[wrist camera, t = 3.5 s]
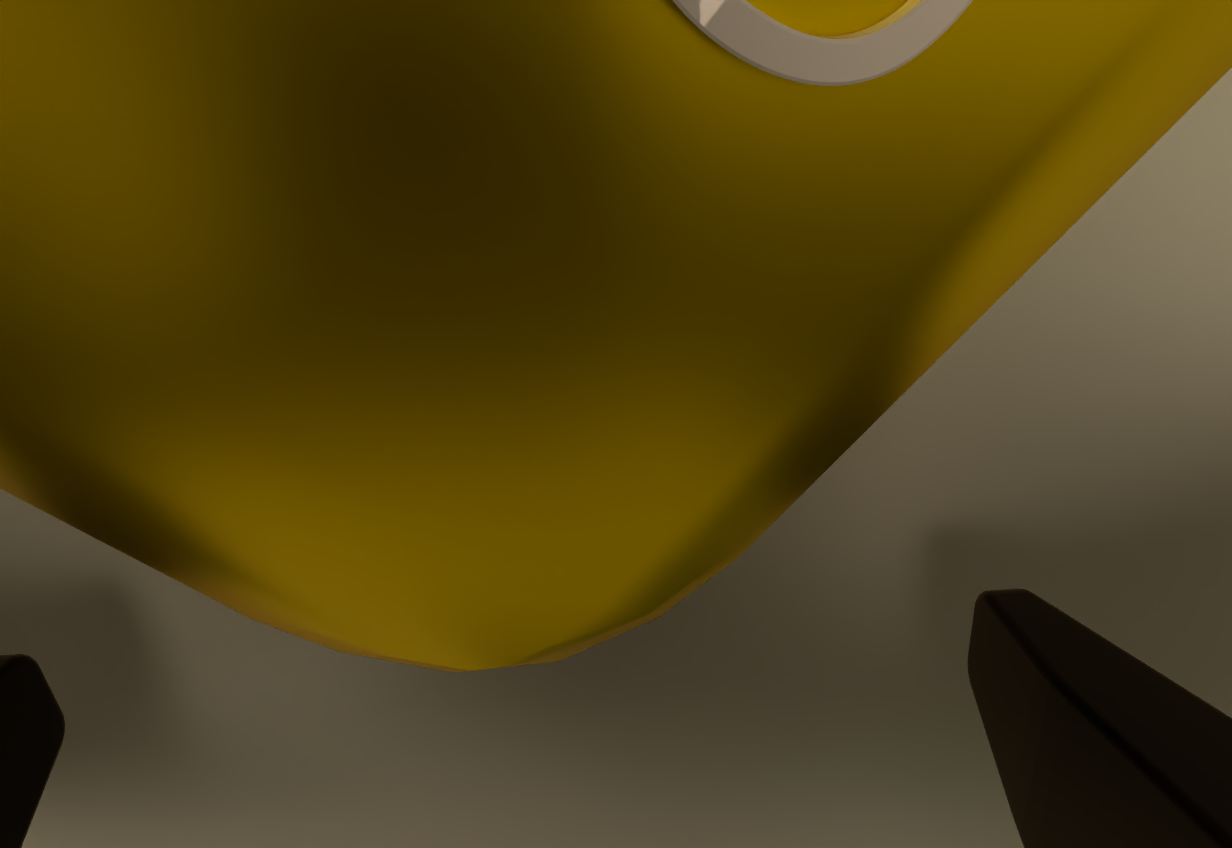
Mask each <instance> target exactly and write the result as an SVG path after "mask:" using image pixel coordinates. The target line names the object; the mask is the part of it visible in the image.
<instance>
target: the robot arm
mask: <svg viewBox="0 0 1232 848" xmlns="http://www.w3.org/2000/svg"><path fill="white" fill-rule="evenodd" d="M968 674H969V679H970V683H971V687H972V690H973V693H974V696H975V699H976V703H977V706H978V709H979V712H980V715H981V718H982V721H983V724H984V728H985V731H986V734H987V737H988V740H989V743H990V746H991V749H992V753H993V756H994V759H995V762H996V765H997V768H998V771H999V774H1000V778H1001V781H1002V784H1003V787H1004V790H1005V793H1006V796H1007V799H1008V803H1009V806H1010V809H1011V812H1012V815H1013V818H1014V821H1015V823H1016V826H1017V829H1018V832H1019V835H1020V838H1021V840H1022V843H1023V845H1024V848H1232V718H1231V717H1229V716H1227V715H1226V714H1224V713H1223V712H1221V711H1219V710H1218V709H1216V708H1215V707H1213V706H1211V705H1210V704H1208V703H1207V702H1205V701H1203V700H1202V699H1200V698H1199V697H1197V696H1196V695H1194V694H1192V693H1191V692H1189V691H1188V690H1186V689H1184V688H1183V687H1181V686H1180V685H1178V684H1176V683H1175V682H1173V681H1172V680H1170V679H1169V678H1167V677H1165V676H1164V675H1162V674H1161V673H1159V672H1157V671H1156V670H1154V669H1153V668H1151V667H1149V666H1148V665H1146V664H1145V663H1143V662H1141V661H1140V660H1138V659H1137V658H1135V657H1134V656H1132V655H1130V654H1129V653H1127V652H1126V651H1124V650H1122V649H1121V648H1119V647H1118V646H1116V645H1114V644H1113V643H1111V642H1110V641H1108V640H1106V639H1105V638H1103V637H1102V636H1100V635H1099V634H1097V633H1095V632H1094V631H1092V630H1091V629H1089V628H1087V627H1086V626H1084V625H1083V624H1081V623H1079V622H1078V621H1076V620H1075V619H1073V618H1072V617H1070V616H1068V615H1067V614H1065V613H1064V612H1062V611H1060V610H1059V609H1057V608H1056V607H1054V606H1052V605H1051V604H1049V603H1048V602H1046V601H1044V600H1043V599H1041V598H1040V597H1038V596H1037V595H1035V594H1033V593H1031V592H1030V591H1028V590H1025V589H1005V590H990V591H984V592H983V593H981V594H980V595H979V596H978V598H977V600H976V603H975V608H974V615H973V622H972V630H971V637H970V645H969V652H968ZM64 732H65V722H64V716H63V713H62V711H61V709H60V707H59V705H58V703H57V701H56V699H55V697H54V695H53V693H52V691H51V689H50V687H49V685H48V683H47V681H46V679H45V677H44V675H43V673H42V671H41V669H40V667H39V665H38V664H37V662H36V661H35V660H34V659H32V658H31V657H30V656H27V655H23V654H15V655H0V848H21V847H22V844H23V841H24V839H25V836H26V834H27V831H28V829H29V826H30V824H31V821H32V819H33V816H34V813H35V811H36V808H37V806H38V803H39V801H40V798H41V796H42V793H43V790H44V788H45V785H46V783H47V780H48V778H49V775H50V773H51V770H52V768H53V765H54V762H55V760H56V757H57V755H58V752H59V750H60V747H61V745H62V741H63V738H64Z"/></svg>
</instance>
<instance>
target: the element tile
mask: <svg viewBox="0 0 1232 848" xmlns="http://www.w3.org/2000/svg"><path fill="white" fill-rule="evenodd" d="M1231 68H1232V0H0V489H2V490H4V491H6V492H7V493H9V494H11V495H13V496H15V497H17V498H19V499H21V500H23V501H25V502H27V503H29V504H31V505H33V506H34V507H36V508H38V509H40V510H42V511H44V512H46V513H48V514H50V515H52V516H54V517H56V518H58V519H59V520H61V521H63V522H65V523H67V524H69V525H71V526H73V527H75V528H77V529H79V530H81V531H83V532H85V533H86V534H88V535H90V536H92V537H94V538H96V539H98V540H100V541H102V542H104V543H106V544H108V545H110V546H111V547H113V548H115V549H117V550H119V551H121V552H123V553H125V554H127V555H129V556H131V557H133V558H135V559H137V560H138V561H140V562H142V563H144V564H146V565H148V566H150V567H152V568H154V569H156V570H158V571H160V572H162V573H164V574H165V575H167V576H169V577H171V578H173V579H175V580H177V581H179V582H181V583H183V584H185V585H187V586H189V587H190V588H192V589H194V590H196V591H198V592H200V593H202V594H204V595H206V596H208V597H210V598H212V599H214V600H216V601H217V602H219V603H221V604H223V605H225V606H227V607H229V608H231V609H233V610H235V611H237V612H239V613H241V614H242V615H244V616H246V617H248V618H250V619H253V620H256V621H258V622H261V623H264V624H266V625H269V626H272V627H274V628H277V629H280V630H283V631H285V632H288V633H291V634H293V635H296V636H299V637H301V638H304V639H307V640H309V641H312V642H315V643H317V644H320V645H323V646H325V647H328V648H331V649H333V650H336V651H339V652H344V653H349V654H355V655H360V656H366V657H371V658H377V659H382V660H388V661H393V662H399V663H404V664H409V665H415V666H420V667H426V668H431V669H437V670H442V671H448V672H453V673H455V672H464V671H474V670H483V669H492V668H502V667H511V666H521V665H530V664H539V663H549V662H558V661H560V660H563V659H565V658H567V657H569V656H572V655H574V654H576V653H579V652H581V651H583V650H585V649H588V648H590V647H592V646H594V645H597V644H599V643H601V642H603V641H606V640H608V639H610V638H612V637H615V636H617V635H619V634H621V633H624V632H626V631H628V630H631V629H633V628H635V627H637V626H640V625H642V624H644V623H646V622H649V621H651V620H653V619H655V618H658V617H660V616H661V615H662V614H664V613H665V612H666V611H668V610H669V609H670V608H672V607H673V606H674V605H676V604H677V603H678V602H680V601H681V600H682V599H684V598H685V597H686V596H688V595H689V594H690V593H692V592H693V591H694V590H696V589H697V588H698V587H700V586H701V585H702V584H703V583H705V582H706V581H707V580H709V579H710V578H711V577H713V576H714V575H715V574H717V573H718V572H719V571H721V570H722V569H723V568H725V567H726V566H727V565H729V564H730V563H731V562H733V561H734V560H735V559H737V558H738V557H739V556H740V555H741V554H742V553H743V552H744V551H745V550H746V549H747V548H748V547H749V546H750V545H751V544H752V543H753V542H754V541H755V540H756V539H757V538H758V537H759V536H760V535H761V534H762V533H763V532H764V531H765V530H767V529H768V528H769V527H770V526H771V525H772V524H773V523H774V522H775V521H776V520H777V519H778V518H779V517H780V516H781V515H782V514H783V513H784V512H785V511H786V510H787V509H788V508H789V507H790V506H791V505H792V504H793V503H794V502H795V501H796V500H797V499H798V498H799V497H800V496H801V495H802V494H803V493H804V492H805V491H806V490H807V489H808V488H809V487H810V486H811V485H812V484H813V483H814V482H815V481H816V480H817V479H818V478H819V477H820V476H821V475H822V474H823V473H824V472H825V471H826V470H827V469H828V468H829V467H830V466H831V465H832V464H833V463H834V462H835V461H836V460H837V459H838V458H839V457H840V456H841V455H842V454H843V453H844V452H845V451H846V450H847V449H848V448H849V447H850V446H851V445H852V444H853V443H854V442H855V441H856V440H857V439H858V438H859V437H860V436H861V435H862V434H863V433H864V432H865V431H866V430H867V429H868V428H869V427H870V426H871V425H872V424H873V423H874V422H875V421H876V420H877V419H878V418H879V417H880V416H881V415H882V414H883V413H884V412H885V411H886V410H887V409H888V408H889V407H890V406H891V405H892V404H893V403H894V402H895V401H896V400H897V399H898V398H899V397H900V396H901V395H902V394H903V393H904V392H905V391H906V390H907V389H908V388H909V387H910V386H911V385H912V384H913V383H914V382H915V381H916V380H917V379H918V378H919V377H921V376H922V375H923V374H924V373H925V372H926V371H927V370H928V369H929V368H930V367H931V366H932V365H933V364H934V363H935V362H936V361H937V360H938V359H939V358H940V357H941V356H942V355H943V354H944V353H945V352H946V351H947V350H948V349H949V348H950V347H951V346H952V345H953V344H954V343H955V342H956V341H957V340H958V339H959V338H960V337H961V336H962V335H963V334H964V333H965V332H966V331H967V330H968V329H969V328H970V327H971V326H972V325H973V324H974V323H975V322H976V321H977V320H978V319H979V318H980V317H981V316H982V315H983V314H984V313H985V312H986V311H987V310H988V309H989V308H990V307H991V306H992V305H993V304H994V303H995V302H996V301H997V300H998V299H999V298H1000V297H1001V296H1002V295H1003V294H1004V293H1005V292H1006V291H1007V290H1008V289H1009V288H1010V287H1011V286H1012V285H1013V284H1014V283H1015V282H1016V281H1017V280H1018V279H1019V278H1020V277H1021V276H1022V275H1023V274H1024V273H1025V272H1026V271H1027V270H1028V269H1029V268H1030V267H1031V266H1032V265H1033V264H1034V263H1035V262H1036V261H1037V260H1038V259H1039V258H1040V257H1041V256H1042V255H1043V254H1044V253H1045V252H1046V251H1047V250H1048V249H1049V248H1050V247H1051V246H1052V245H1053V244H1054V243H1055V242H1056V241H1057V240H1058V239H1059V238H1060V237H1061V236H1062V235H1063V234H1064V233H1065V232H1066V231H1067V230H1068V229H1069V228H1070V227H1071V226H1072V225H1073V224H1075V223H1076V222H1077V221H1078V220H1079V219H1080V218H1081V217H1082V216H1083V215H1084V214H1085V213H1086V212H1087V211H1088V210H1089V209H1090V208H1091V207H1092V206H1093V205H1094V204H1095V203H1096V202H1097V201H1098V200H1099V199H1100V198H1101V197H1102V196H1103V195H1104V194H1105V193H1106V192H1107V191H1108V190H1109V189H1110V188H1111V187H1112V186H1113V185H1114V184H1115V183H1116V182H1117V181H1118V180H1119V179H1120V178H1121V177H1122V176H1123V175H1124V174H1125V173H1126V172H1127V171H1128V170H1129V169H1130V168H1131V167H1132V166H1133V165H1134V164H1135V163H1136V162H1137V161H1138V160H1139V159H1140V158H1141V157H1142V156H1143V155H1144V154H1145V153H1146V152H1147V151H1148V150H1149V149H1150V148H1151V147H1152V146H1153V145H1154V144H1155V143H1156V142H1157V141H1158V140H1159V139H1160V138H1161V137H1162V136H1163V135H1164V134H1165V133H1166V132H1167V131H1168V130H1169V129H1170V128H1171V127H1172V126H1173V125H1174V124H1175V123H1176V122H1177V121H1178V120H1179V119H1180V118H1181V117H1182V116H1183V115H1184V114H1185V113H1186V112H1187V111H1188V110H1189V109H1190V108H1191V107H1192V106H1193V105H1194V104H1195V103H1196V102H1197V101H1198V100H1199V99H1200V98H1201V97H1202V96H1203V95H1204V94H1205V93H1206V92H1207V91H1208V90H1209V89H1210V88H1211V87H1212V86H1213V85H1214V84H1215V83H1216V82H1217V81H1218V80H1219V79H1220V78H1221V77H1222V76H1223V75H1224V74H1225V73H1226V72H1228V71H1229V70H1230V69H1231Z"/></svg>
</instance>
